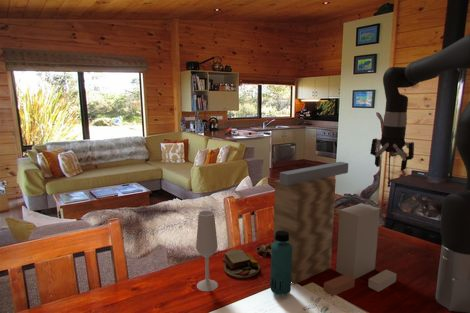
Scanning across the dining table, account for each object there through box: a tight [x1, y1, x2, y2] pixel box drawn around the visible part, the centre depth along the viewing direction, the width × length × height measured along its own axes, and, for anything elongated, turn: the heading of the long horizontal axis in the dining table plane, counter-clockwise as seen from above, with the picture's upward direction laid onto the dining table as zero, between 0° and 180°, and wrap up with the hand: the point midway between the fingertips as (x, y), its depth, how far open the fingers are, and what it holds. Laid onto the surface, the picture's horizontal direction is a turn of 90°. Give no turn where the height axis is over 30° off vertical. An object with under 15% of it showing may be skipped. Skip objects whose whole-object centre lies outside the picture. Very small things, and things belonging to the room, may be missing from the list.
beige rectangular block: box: [367, 269, 397, 293], centre depth 108 cm, size 10×4×3 cm, turn 126°
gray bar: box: [279, 161, 349, 186], centre depth 114 cm, size 30×4×4 cm, turn 126°
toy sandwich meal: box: [222, 249, 261, 279], centre depth 117 cm, size 12×14×5 cm
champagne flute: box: [195, 210, 219, 292], centre depth 105 cm, size 7×7×24 cm
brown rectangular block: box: [322, 274, 356, 297], centre depth 105 cm, size 10×4×3 cm, turn 122°
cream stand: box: [335, 202, 381, 280], centre depth 115 cm, size 12×7×22 cm, turn 126°
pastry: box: [255, 242, 273, 259], centre depth 130 cm, size 7×12×4 cm, turn 103°
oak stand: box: [272, 177, 337, 284], centre depth 114 cm, size 18×10×32 cm, turn 126°
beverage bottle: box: [269, 230, 292, 296], centre depth 101 cm, size 6×7×20 cm
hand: (389, 168), depth 125 cm, fingers open, 8 cm apart
